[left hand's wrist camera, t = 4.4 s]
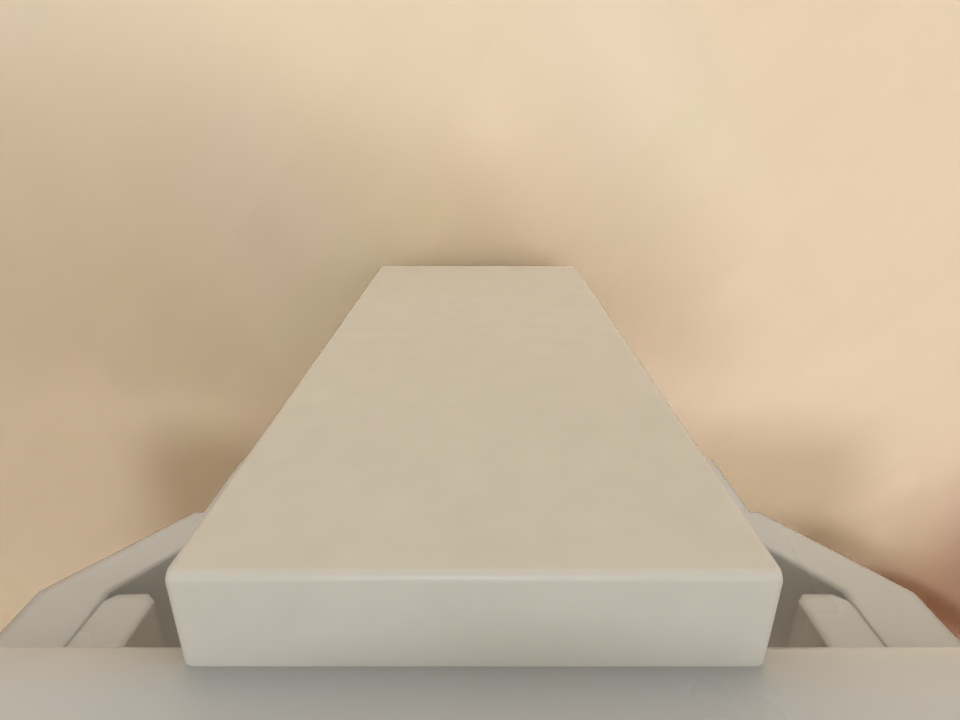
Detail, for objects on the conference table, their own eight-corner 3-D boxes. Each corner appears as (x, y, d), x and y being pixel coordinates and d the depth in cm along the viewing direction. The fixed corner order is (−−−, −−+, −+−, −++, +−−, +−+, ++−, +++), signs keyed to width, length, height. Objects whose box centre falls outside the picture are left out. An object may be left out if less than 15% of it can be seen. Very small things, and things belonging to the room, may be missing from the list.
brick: (380, 265, 15) (157, 574, 5) (575, 264, 15) (791, 574, 5) (392, 454, 17) (255, 964, 6) (564, 454, 17) (696, 964, 6)
